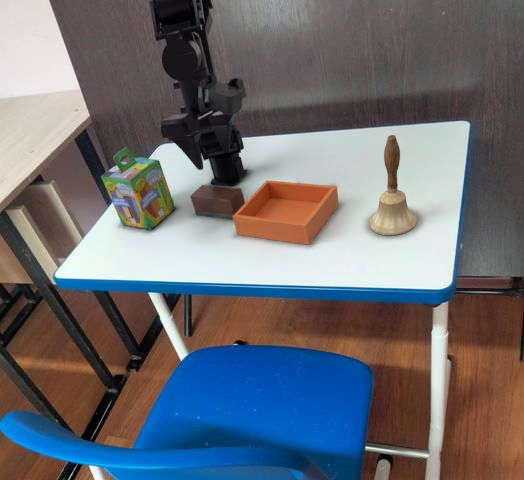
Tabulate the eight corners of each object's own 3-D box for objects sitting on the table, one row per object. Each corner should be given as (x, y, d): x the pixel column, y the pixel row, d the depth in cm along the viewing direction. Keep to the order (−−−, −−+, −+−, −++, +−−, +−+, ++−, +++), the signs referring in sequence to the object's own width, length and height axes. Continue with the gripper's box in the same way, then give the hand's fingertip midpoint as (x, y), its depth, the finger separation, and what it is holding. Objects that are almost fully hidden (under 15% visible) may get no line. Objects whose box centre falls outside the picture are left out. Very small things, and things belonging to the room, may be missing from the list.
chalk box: (151, 231, 110) (124, 165, 100) (120, 225, 115) (91, 161, 105) (177, 208, 115) (154, 142, 105) (147, 203, 120) (122, 139, 110)
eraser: (196, 215, 112) (190, 196, 108) (207, 203, 114) (201, 184, 111) (235, 220, 107) (230, 200, 104) (246, 208, 109) (241, 188, 106)
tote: (237, 234, 103) (232, 216, 100) (270, 198, 110) (266, 180, 107) (308, 245, 95) (305, 225, 93) (339, 205, 103) (336, 185, 100)
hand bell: (419, 210, 96) (420, 123, 85) (413, 236, 91) (413, 147, 80) (374, 210, 99) (369, 126, 88) (365, 235, 94) (359, 149, 83)
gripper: (198, 79, 82) (222, 178, 91) (256, 53, 94) (273, 142, 103) (145, 87, 88) (173, 179, 97) (207, 61, 100) (226, 145, 109)
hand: (214, 160), depth 101 cm, fingers open, 9 cm apart
